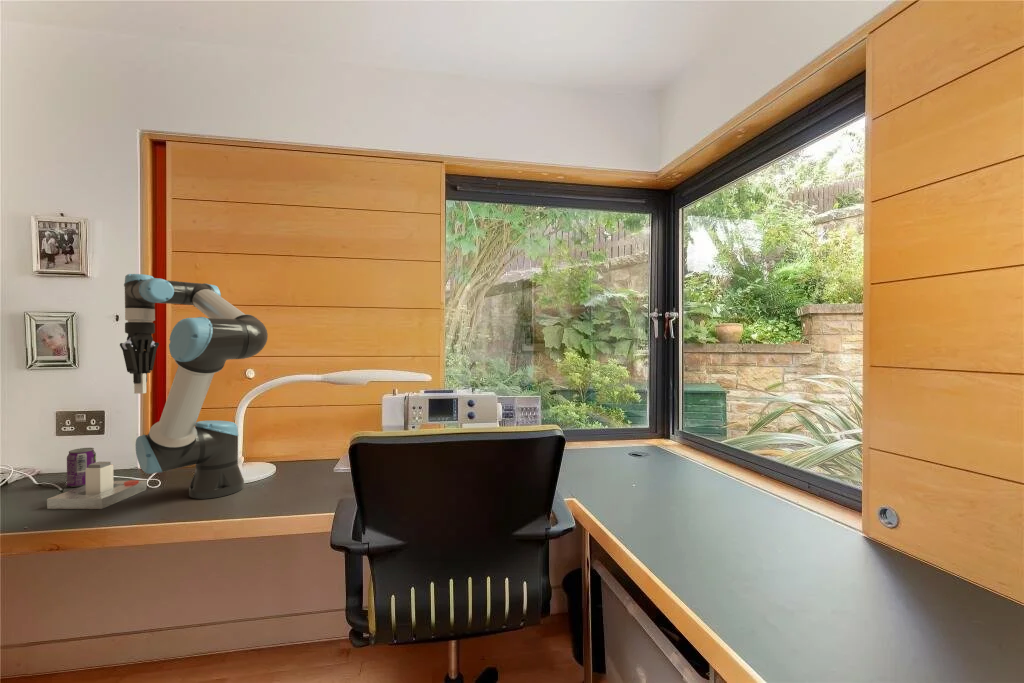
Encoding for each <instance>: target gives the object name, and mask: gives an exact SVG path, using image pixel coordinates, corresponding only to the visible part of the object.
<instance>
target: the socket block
mask: <svg viewBox="0 0 1024 683" xmlns="http://www.w3.org/2000/svg"><path fill="white" fill-rule="evenodd" d="M144 491H147V480H137V479H136V480H134V479H133V480H132V479H131V480H113V488H112V489H110V490H107V491H104V492H102V493H99V494H97V495H86V485H84V486H81V487H75V488H73V489H71V490H68V491H65V492H62V493H60V494H56V495H54V496H51V497H49V498H46V509H47V510H64V509H65V510H69V509H71V510H72V509H74V510H80V509H82V510H85V509H86V510H88V509H89V510H96V509H98V510H103V509H105V508H107V507H111V506H112V505H115V504H116V503H119V502H122V501H124V500H126V499H128V498H131V497H133V496H135V495H138V494H140V493H142V492H144Z"/></svg>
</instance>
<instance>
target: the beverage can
mask: <svg viewBox="0 0 1024 683" xmlns="http://www.w3.org/2000/svg"><path fill="white" fill-rule="evenodd" d="M96 453H97V452H96V451H95V448H94V447H81V448H76V449H70V450H69V451H68V455H67V456H66V486H68V487H71V488H79V487H81V486H84V485H86V468H88V465H90V464H93V463H96V462H97V454H96Z"/></svg>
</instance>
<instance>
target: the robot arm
mask: <svg viewBox="0 0 1024 683" xmlns="http://www.w3.org/2000/svg"><path fill="white" fill-rule="evenodd" d="M123 287H124V319H125V321H126V322H124V333H125V334H126V335H127V337H126V341H125V342H120V343H119V347H120V348H121V350H122V353H123V359H124V364H125V368H126V372H127V373H129V374H131V375H133V377H132V378H133V384H134V386H133V389H134V393H133V394H139V395H140V394H142V395H143V394H147V383H148V374H150V373H151V372H152V371H153V370H154V367H155V366H154V365H155V360H156V355H157V354H156V353H157V349H158V348H159V346H160V343H159V342H155V341H154V337H153V335H154V334H156V327H155V326H156V324H155V323H154V321H156V308H155V305H156V304H168V305H187V306H193V307H195V308H196V309H197V310H199V311H200V312H201V313H202V314H203V315H205V316H206V317H205V316H204V317H203V316H197V317H186V318H182V319H180V320H179V321H178V322H176V324H175V325H174V326H173V328H172V330H171V333H170V336H169V339H168V340H169V344H168V349H169V353H170V355H171V357H172V359H173V360H174V363H175V364H176V365H177V366H178V367H177V369H176V372H175V375H174V378H173V381H172V384H171V387H170V389H169V392H168V396H167V398H166V401H165V404H164V407H163V410H162V412H161V416H160V418H159V421H157V422H155V423H154V424H152V426H151V427H150V428H149V432H148V434H142V435H139V436H138V437H137V438H136V439H135V453H136V458H137V462H138V465H139V467H140V469H141V470H142V471H143V473H145V474H148V475H150V474H157V473H160V474H161V473H163V472H168V471H172V470H175V469H182V468H185V467H190V466H194V465H195V471H194V474H193V476H192V480H191V482H190V485H189V489H188V497H189V498H191V499H199V500H200V499H202V500H204V499H205V500H206V499H215V498H221V497H225V496H229V495H232V494H235V493H238V492H240V491H241V490H243V489H244V487H245V480H244V477H243V474H242V472H241V470H240V467H239V459H238V458H239V432H238V424H237V423H235V422H233V421H230V420H229V421H227V420H200V421H198V418H199V415H200V412H201V410H202V408H203V404H204V402H205V400H206V397H207V394H208V392H209V389H210V386H211V384H212V381H213V379H214V375H215V374H216V373H219V372H220V371H222V370H223V368H224V367H225V363H226V361H227V360H244V359H249V358H251V357H254V356H255V355H257V354H259V353H260V352H261V351H262V350H263V349H264V348H265V346H266V345H267V342H268V337H269V336H268V330H267V327H266V326H265V324H264V323H263V322H261V320H259V318H257V317H256V316H254V315H252V314H247V313H246V314H245V313H244V312H243V311H241V310H240V309H239V308H238V307H236V306H234V305H233V304H232V303H231V302H229V301H228V300H226V299H225V298H223V297H222V294H221V291H220V289H219V287H218V286H217V285H215V284H211V283H210V284H209V283H201V282H200V283H199V282H187V281H178V280H170V279H169V280H167V279H165V278H164V279H163V278H157V277H154V276H153V275H149V274H141V273H128V274H126V275H125V277H124V284H123Z"/></svg>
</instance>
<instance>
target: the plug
mask: <svg viewBox="0 0 1024 683" xmlns="http://www.w3.org/2000/svg"><path fill="white" fill-rule="evenodd" d="M111 462H112V461H96V463H93V464H90V465H88V468H86V495H97V494H99V493H102V492H104V491H107V490H110V489H112V488H113V481H114V464H111Z"/></svg>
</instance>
